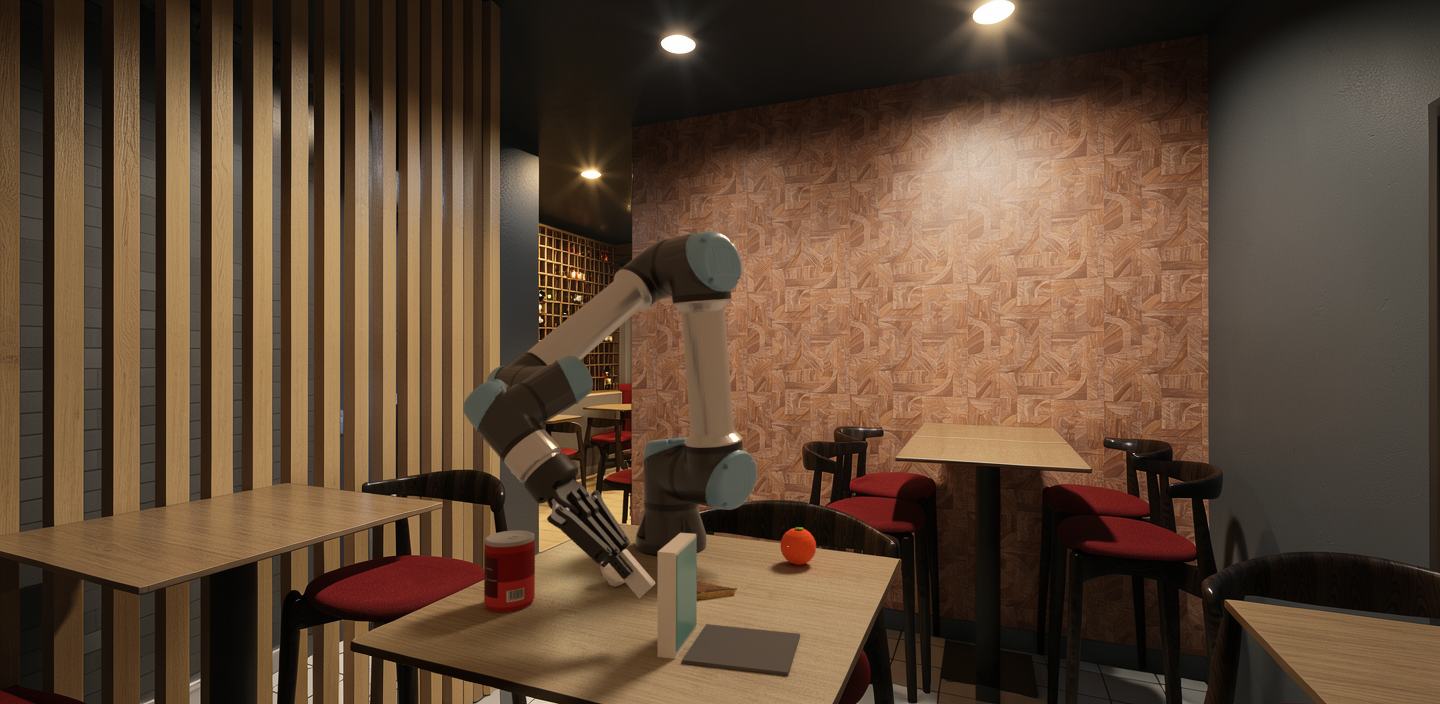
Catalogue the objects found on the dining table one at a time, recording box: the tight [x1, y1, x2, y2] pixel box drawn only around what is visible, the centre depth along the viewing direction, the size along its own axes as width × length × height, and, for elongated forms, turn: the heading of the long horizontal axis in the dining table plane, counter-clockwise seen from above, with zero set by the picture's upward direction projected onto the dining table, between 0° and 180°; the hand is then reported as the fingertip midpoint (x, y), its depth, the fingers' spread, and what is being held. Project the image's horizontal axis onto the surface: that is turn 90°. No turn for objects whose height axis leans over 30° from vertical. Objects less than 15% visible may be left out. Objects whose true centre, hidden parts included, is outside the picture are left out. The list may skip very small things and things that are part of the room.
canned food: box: [483, 530, 536, 613], centre depth 106 cm, size 8×8×11 cm
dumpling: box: [600, 562, 626, 588], centre depth 115 cm, size 7×5×4 cm
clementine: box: [779, 526, 817, 566], centre depth 127 cm, size 8×7×7 cm
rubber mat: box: [681, 623, 801, 676], centre depth 89 cm, size 12×14×1 cm
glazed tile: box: [657, 533, 698, 660], centre depth 92 cm, size 10×3×14 cm, turn 166°
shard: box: [697, 580, 738, 600], centre depth 109 cm, size 11×8×2 cm
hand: (647, 590), depth 92 cm, fingers closed
